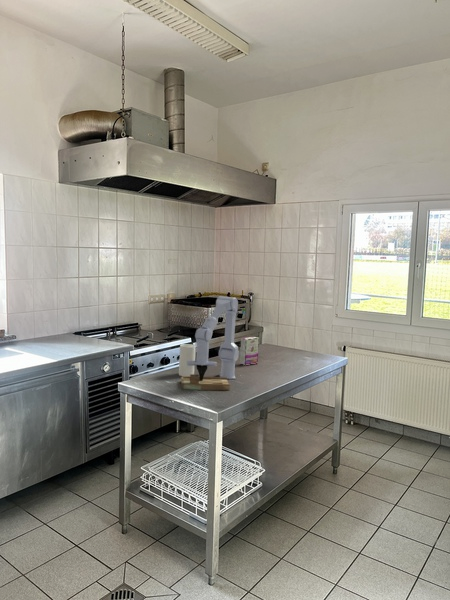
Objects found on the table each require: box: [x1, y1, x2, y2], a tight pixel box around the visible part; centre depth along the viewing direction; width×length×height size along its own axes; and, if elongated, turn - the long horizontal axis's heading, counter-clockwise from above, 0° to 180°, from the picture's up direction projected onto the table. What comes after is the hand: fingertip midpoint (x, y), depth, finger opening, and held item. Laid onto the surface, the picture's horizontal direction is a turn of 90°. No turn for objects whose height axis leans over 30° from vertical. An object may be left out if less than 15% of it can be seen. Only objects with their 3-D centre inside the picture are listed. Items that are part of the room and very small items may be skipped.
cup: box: [178, 343, 196, 377], centre depth 238 cm, size 8×8×16 cm
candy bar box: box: [239, 336, 260, 365], centre depth 270 cm, size 11×5×16 cm, turn 131°
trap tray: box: [180, 376, 231, 391], centre depth 219 cm, size 13×23×3 cm, turn 97°
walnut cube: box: [190, 373, 199, 383], centre depth 215 cm, size 4×4×4 cm
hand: (201, 380), depth 216 cm, fingers closed
